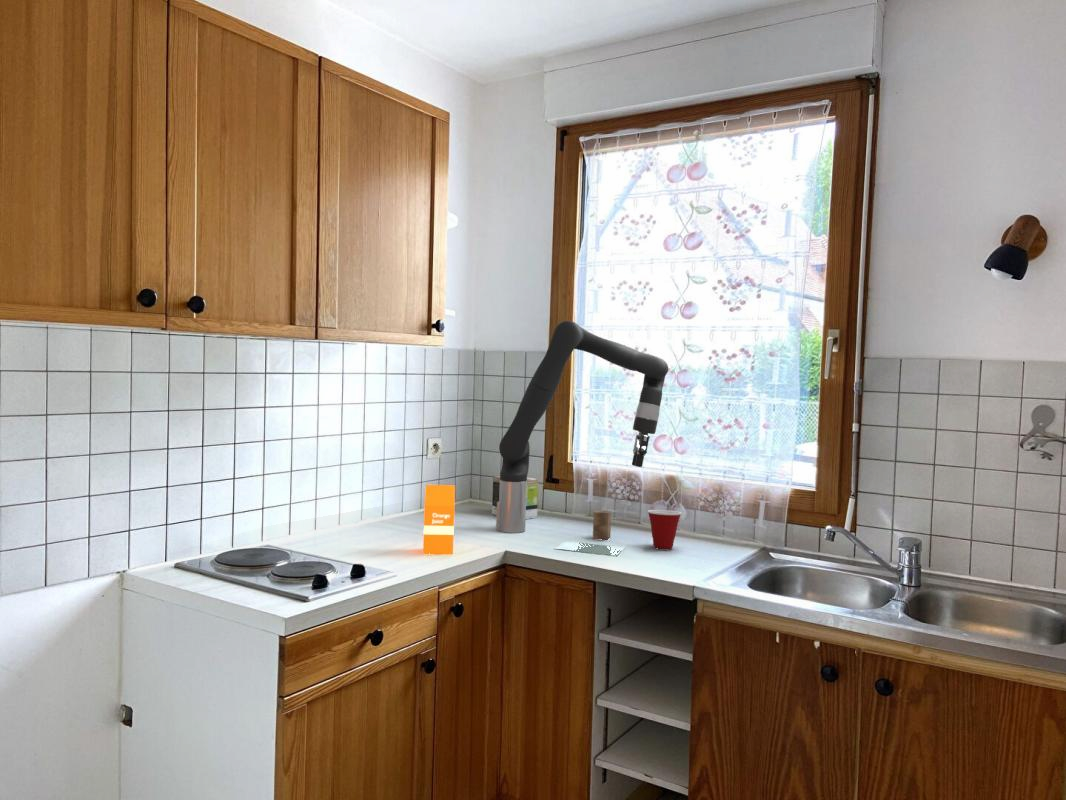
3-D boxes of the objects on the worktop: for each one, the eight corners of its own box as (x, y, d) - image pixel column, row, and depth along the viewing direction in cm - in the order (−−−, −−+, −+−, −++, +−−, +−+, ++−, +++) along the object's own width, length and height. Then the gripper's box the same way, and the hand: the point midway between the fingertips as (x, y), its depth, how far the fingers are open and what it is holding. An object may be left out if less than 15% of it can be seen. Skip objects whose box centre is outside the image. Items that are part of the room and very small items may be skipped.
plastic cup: (678, 545, 254) (680, 508, 254) (681, 552, 243) (683, 514, 243) (645, 543, 255) (646, 506, 255) (646, 550, 244) (648, 512, 244)
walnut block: (592, 539, 258) (593, 512, 258) (595, 536, 262) (596, 510, 262) (607, 540, 257) (608, 513, 257) (610, 538, 261) (611, 511, 260)
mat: (553, 549, 242) (553, 548, 242) (564, 541, 253) (564, 540, 253) (616, 556, 236) (616, 555, 236) (625, 548, 247) (625, 547, 247)
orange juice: (424, 548, 237) (426, 482, 236) (453, 548, 238) (455, 483, 237) (422, 554, 229) (424, 486, 228) (453, 555, 230) (455, 487, 229)
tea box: (538, 517, 292) (539, 478, 292) (519, 521, 285) (520, 480, 284) (509, 511, 303) (511, 473, 302) (490, 514, 295) (492, 475, 295)
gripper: (632, 416, 265) (622, 463, 264) (638, 414, 251) (628, 464, 250) (654, 421, 265) (644, 468, 264) (661, 419, 251) (651, 469, 250)
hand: (636, 466), depth 257 cm, fingers open, 8 cm apart
